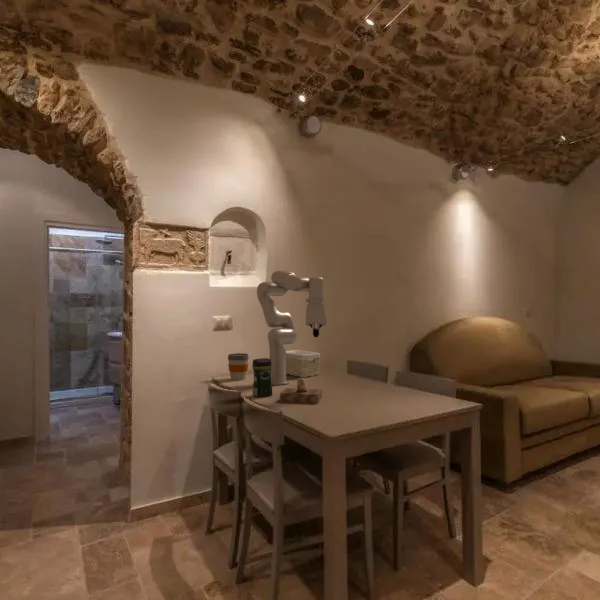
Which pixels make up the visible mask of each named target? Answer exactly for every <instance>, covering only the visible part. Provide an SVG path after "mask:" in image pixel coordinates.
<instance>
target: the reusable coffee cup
mask: <svg viewBox="0 0 600 600" xmlns="http://www.w3.org/2000/svg"><path fill="white" fill-rule="evenodd" d="M249 359H250V358H249V353H241V352H240V353H239V352H237V353H229V354H228V355H227V361H228V365H227V366H228V372H229V374H230V381H244V380H243V379H245V380H246V379H247V372H248V368H249Z"/></svg>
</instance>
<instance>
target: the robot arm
mask: <svg viewBox="0 0 600 600" xmlns="http://www.w3.org/2000/svg"><path fill="white" fill-rule="evenodd" d="M270 279H271V281H262V282H260V283H259V284H258V285H257V288H256V297H257V300H258V302H259V304H260V306H261V308H262V309H261V310H262V313H263V317H264V319H265V323H266V325H267V327H269V328H272V329H270V330H269V331H268V332H267V340H268V345H269V347H268V348H269V349H268V350H269V359H271V363H272V368H271V384H272V386H284V385H288V384H289V383H290V381H289V380H288V379H287V374H286V351H287V350H286V349H285V347H284V345H292V344H295V343H296V341H297V338H298V335H297V331H296V327H295V323H294V319H293V317H292V315H291V314H290V313H289V312H288V311H285V310H284V311H281V310H279V309H278V307H277V304H276V302H275V301H274V299H273V298H271V297H283V296H284V295H286V294H287V293H288V292H289V291H293V292H302V293H303V292H304V293H307V292H308V298H306V299H305V301H306V303H307V304H306V310H305V326H309V327H310V328H311V329H312V336H313V338H319V336H320V329H321V328H322V327H324V326H327V311H326V305H325V304H324V278H323V277H319V276H317V277H313V276H312V277H305V276H297V275H296V274H295V273H294V272H293V271H290V270H275V271H273V273H272V274H271V276H270ZM283 384H284V385H283Z"/></svg>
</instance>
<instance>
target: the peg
mask: <svg viewBox="0 0 600 600" xmlns="http://www.w3.org/2000/svg"><path fill="white" fill-rule="evenodd" d="M296 382H297V383H296V389H297V392H301V393H305V389H306V377H305V378H303V377H298V378H296Z"/></svg>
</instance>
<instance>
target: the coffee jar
mask: <svg viewBox="0 0 600 600" xmlns="http://www.w3.org/2000/svg"><path fill="white" fill-rule="evenodd" d="M251 368H252V369H253V382H252V395H253V397H259V398H263V397H270V396H272V395H273V385H272V384H271V368H272V363H271V359H270V358H268V357H265V358H263V357H262V358H255V359H253V360H252V367H251Z"/></svg>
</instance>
